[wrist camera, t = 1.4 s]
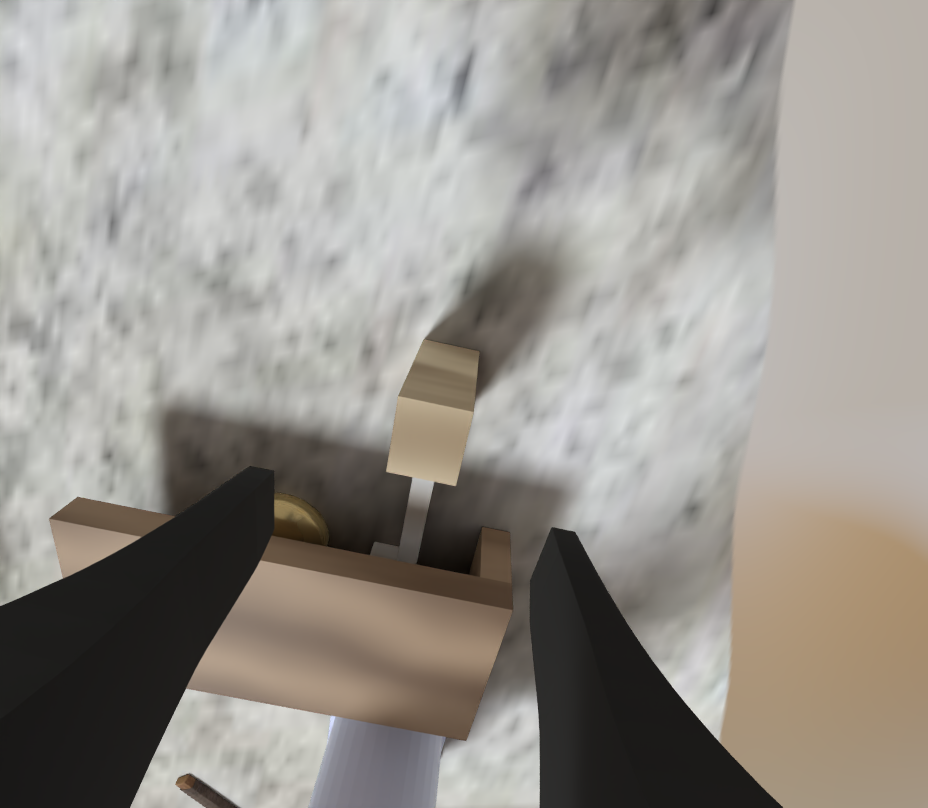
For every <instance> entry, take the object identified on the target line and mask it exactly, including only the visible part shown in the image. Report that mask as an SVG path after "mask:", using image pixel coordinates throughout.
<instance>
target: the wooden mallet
mask: <svg viewBox="0 0 928 808" xmlns="http://www.w3.org/2000/svg"><path fill="white" fill-rule="evenodd" d="M478 362H479V351H476V350H471V349H466V348H462V347H457V346H453V345H448V344H443V343H439V342H434V341H429V340H425V339H424V340H423V342H422V344H421V346H420V349H419V351H418V353H417V355H416V358H415V360H414V362H413V364H412V367H411V369H410V371H409V373H408V375H407V378H406V380H405V382H404V384H403V387H402V389H401V391H400V393H399V395H398V400H397V407H396V413H395V419H394V426H393V432H392V438H391V444H390V451H389V457H388V463H387V470H386V472H390V473H394V474H399V475H404V476H409V477H413V478H412V483H411V489H410V494H409V499H408V504H407V510H406V515H405V520H404V525H403V531H402V536H401V541H400V546H394V545H389V544H384V543H379V542H374V544H373V547H372V550H371V553H370V555H371V556H376V557H381V558H386V559H391V560H397V561H402V562H407V563H412V564H417V559H418V555H419V550H420V545H421V541H422V536H423V531H424V527H425V522H426V517H427V513H428V508H429V504H430V499H431V494H432V490H433V485H434V482H438V483H443V484H448V485H453V486H456V483H457V479H458V475H459V471H460V467H461V463H462V459H463V455H464V450H465V446H466V442H467V438H468V434H469V430H470V426H471V421H472V417H473V413H474V404H475V394H476V383H477V372H478Z"/></svg>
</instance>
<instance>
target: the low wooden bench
mask: <svg viewBox="0 0 928 808" xmlns="http://www.w3.org/2000/svg"><path fill="white" fill-rule="evenodd" d="M174 517H175V516H171V515H166V514H161V513H156V512H151V511H146V510H141V509H136V508H131V507H126V506H121V505H116V504H111V503H106V502H101V501H96V500H91V499H86V498H81V497H77V498H76V499H74V500H73V501H72V502H70V503H69V504H68V505H66V506H65V507H64V508H62V509H61V510H60V511H58V512H57V513H56V514H55V515H53V516H52V517H51V518H49V521H50V525H51V529H52V533H53V538H54V542H55V546H56V551H57V555H58V559H59V563H60V568H61V572H62V576H63V578H65V577H68V576H70V575H72V574H74V573H76V572H78V571H80V570H82V569H84V568H86V567H88V566H90V565H92V564H94V563H96V562H98V561H100V560H102V559H104V558H105V557H107V556H109V555H111V554H113V553H115V552H117V551H118V550H120V549H122V548H124V547H126V546H127V545H129V544H131V543H133V542H134V541H136V540H138V539H139V538H141V537H143V536H144V535H146V534H148V533H149V532H151V531H153V530H154V529H156V528H158V527H159V526H161V525H163V524H164V523H166V522H167V521H169V520H171V519H172V518H174ZM512 612H513V596H512V572H511V548H510V532H506V531H501V530H496V529H491V528H486V527H482V529H481V533H480V536H479V540H478V543H477V547H476V550H475V554H474V557H473V561H472V564H471V568H470V571H469V575H467V574H462V573H457V572H452V571H447V570H442V569H437V568H432V567H427V566H422V565H417V564H412V563H407V562H402V561H397V560H391V559H386V558H381V557H376V556H371V555H366V554H361V553H356V552H351V551H346V550H341V549H336V548H331V547H326V546H321V545H316V544H311V543H306V542H301V541H296V540H291V539H286V538H281V537H276V536H271V538H270V540H269V543H268V545H267V547H266V549H265V551H264V554H263V556H262V558H261V560H260V562H259V564H258V566H257V568H256V570H255V571H254V573H253V575H252V576H251V578H250V580H249V581H248V583H247V585H246V586H245V588H244V589H243V591H242V593H241V594H240V596H239V598H238V599H237V601H236V603H235V604H234V606H233V607H232V609H231V611H230V612H229V614H228V615H227V617H226V619H225V620H224V622H223V624H222V625H221V627H220V628H219V630H218V632H217V633H216V635H215V637H214V638H213V640H212V641H211V643H210V645H209V646H208V648H207V650H206V651H205V653H204V655H203V657H202V659H201V660H200V662H199V664H198V666H197V667H196V669H195V671H194V673H193V675H192V677H191V679H190V681H189V683H188V685H187V687H186V689H191V690H197V691H202V692H207V693H213V694H218V695H223V696H229V697H234V698H240V699H245V700H250V701H256V702H261V703H266V704H272V705H277V706H282V707H288V708H293V709H298V710H304V711H309V712H314V713H320V714H325V715H330V716H336V717H341V718H347V719H352V720H357V721H363V722H368V723H373V724H379V725H384V726H389V727H395V728H400V729H405V730H411V731H416V732H421V733H427V734H432V735H437V736H443V737H448V738H454V739H459V740H464V741H466V740H467V737H468V734H469V732H470V729H471V726H472V723H473V721H474V718H475V715H476V712H477V709H478V707H479V704H480V701H481V698H482V695H483V693H484V690H485V687H486V684H487V682H488V679H489V676H490V673H491V670H492V668H493V665H494V662H495V659H496V656H497V654H498V651H499V648H500V645H501V643H502V640H503V637H504V634H505V631H506V629H507V626H508V623H509V620H510V617H511V615H512Z"/></svg>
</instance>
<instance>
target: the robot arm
mask: <svg viewBox="0 0 928 808" xmlns="http://www.w3.org/2000/svg"><path fill="white" fill-rule="evenodd" d="M274 529H275V527H274V471H272V470H267V469H262V468H257V467H252V466H250V467H248V468H246V469H245V470H243V471H242V472H240V473H239V474H237V475H236V476H235V477H233V478H232V479H230V480H229V481H227V482H226V483H224V484H223V485H222V486H220V487H219V488H217V489H216V490H214V491H213V492H211V493H210V494H208V495H207V496H206V497H204V498H203V499H201V500H200V501H198V502H197V503H195V504H194V505H192V506H191V507H189V508H188V509H186V510H184V511H183V512H181V513H180V514H178V515H177V516H175V517H174V518H172V519H171V520H169V521H167V522H166V523H164V524H163V525H161V526H159V527H158V528H156V529H154V530H153V531H151V532H149V533H148V534H146V535H144V536H143V537H141V538H139V539H138V540H136V541H134V542H133V543H131V544H129V545H127V546H126V547H124V548H122V549H120V550H118V551H117V552H115V553H113V554H111V555H109V556H107V557H105V558H104V559H102V560H100V561H98V562H96V563H94V564H92V565H90V566H88V567H86V568H84V569H82V570H80V571H78V572H76V573H74V574H72V575H70V576H68V577H65V578H63V579H61V580H59V581H57V582H54V583H52V584H50V585H48V586H45V587H43V588H41V589H39V590H37V591H34V592H32V593H30V594H28V595H25V596H23V597H21V598H19V599H17V600H14V601H12V602H9V603H7V604H5V605H2V606H0V808H130V806H131V804H132V802H133V800H134V798H135V795H136V793H137V791H138V789H139V787H140V784H141V782H142V780H143V778H144V776H145V773H146V771H147V769H148V767H149V764H150V762H151V760H152V758H153V756H154V754H155V752H156V749H157V747H158V745H159V743H160V741H161V739H162V737H163V735H164V733H165V730H166V728H167V726H168V724H169V722H170V720H171V718H172V716H173V714H174V712H175V710H176V708H177V706H178V704H179V701H180V699H181V697H182V695H183V693H184V691H185V689H186V687H187V685H188V683H189V681H190V679H191V677H192V675H193V673H194V671H195V669H196V667H197V666H198V664H199V662H200V660H201V659H202V657H203V655H204V653H205V651H206V650H207V648H208V646H209V645H210V643H211V641H212V640H213V638H214V637H215V635H216V633H217V632H218V630H219V628H220V627H221V625H222V624H223V622H224V620H225V619H226V617H227V615H228V614H229V612H230V611H231V609H232V607H233V606H234V604H235V603H236V601H237V599H238V598H239V596H240V594H241V593H242V591H243V589H244V588H245V586H246V585H247V583H248V581H249V580H250V578H251V576H252V575H253V573H254V571H255V570H256V568H257V566H258V564H259V562H260V560H261V558H262V556H263V554H264V551H265V549H266V547H267V545H268V543H269V540H270V538H271V536H272V534H273V531H274ZM530 629H531V640H532V651H533V661H534V671H535V682H536V692H537V702H538V713H539V730H540V808H783V807H782V806H781V805H780V804H779V803H778V802H777V801H776V800H775V799H774V798H773V797H771V796H770V795H769V794H768V793H767V792H766V791H765V790H764V789H763V788H762V787H761V786H760V785H759V784H758V783H757V782H756V781H755V780H754V778H753V777H752V776H751V775H750V774H749V773H748V772H747V771H746V770H745V769H744V768H743V767H742V766H741V765H740V764H739V763H738V762H737V761H736V760H735V759H734V758H733V757H732V756H731V755H730V753H729V752H728V751H727V750H726V749H725V748H724V747H723V746H722V745H721V744H720V743H719V741H718V740H717V739H716V738H715V737H714V736H713V735H712V734H711V732H710V731H709V730H708V729H707V728H706V727H705V726H704V724H703V723H702V722H701V721H700V720H699V719H698V717H697V716H696V715H695V714H694V713H693V712H692V710H691V709H690V708H689V707H688V706H687V705H686V703H685V702H684V701H683V700H682V698H681V697H680V696H679V695H678V694H677V692H676V691H675V690H674V689H673V687H672V686H671V685H670V683H669V682H668V681H667V679H666V678H665V677H664V675H663V674H662V673H661V671H660V670H659V669H658V668H657V666H656V665H655V664H654V662H653V661H652V659H651V658H650V657H649V655H648V654H647V652H646V651H645V649H644V648H643V647H642V645H641V644H640V642H639V641H638V639H637V638H636V636H635V635H634V633H633V632H632V630H631V629H630V627H629V625H628V624H627V622H626V621H625V619H624V618H623V616H622V614H621V613H620V611H619V609H618V608H617V606H616V604H615V603H614V601H613V599H612V598H611V596H610V594H609V593H608V591H607V589H606V587H605V586H604V584H603V582H602V580H601V579H600V577H599V575H598V573H597V571H596V570H595V568H594V566H593V564H592V562H591V560H590V559H589V557H588V555H587V553H586V551H585V549H584V547H583V545H582V544H581V542H580V540H579V538H578V536H577V535H576V533H575V532H573V531H568V530H563V529H558V528H553V527H552V528H551V530H550V533H549V535H548V538H547V540H546V543H545V545H544V548H543V550H542V553H541V555H540V558H539V560H538V562H537V565H536V567H535V570H534V572H533V575H532V577H531V580H530ZM445 739H446V737H443V736H437V735H432V734H427V733H421V732H416V731H411V730H405V729H400V728H395V727H389V726H384V725H379V724H373V723H368V722H363V721H357V720H352V719H347V718H341V717H336V716H331V719H330V726H329V734H328V741H327V746H326V750H325V753H324V756H323V760H322V763H321V766H320V770H319V773H318V776H317V780H316V783H315V786H314V790H313V793H312V797H311V800H310V803H309V807H308V808H436V799H437V788H438V778H439V767H440V756H441V751H442V748H443V745H444V742H445Z"/></svg>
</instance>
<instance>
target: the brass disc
mask: <svg viewBox="0 0 928 808" xmlns="http://www.w3.org/2000/svg"><path fill="white" fill-rule="evenodd" d="M274 527H275V529H274V531H273V534H272V536H276V537H281V538H286V539H291V540H296V541H301V542H306V543H311V544H316V545H321V546H326V547H327V545H328V541H329V532H328V527H327V524H326V522H325V520H324V519H323V517H322V516H321V514H320V513H319V512H318V511H317V510H316V509H315V508H314V507H313V506H311V505H310V504H309V503H307V502H305V501H304V500H302V499H300V498H297V497H295V496H292V495H288V494H283V493H274Z"/></svg>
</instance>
